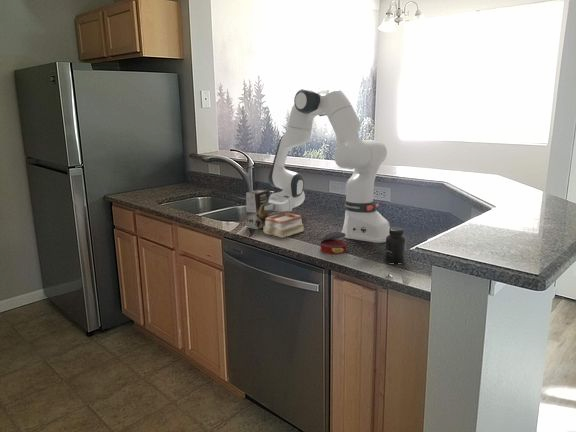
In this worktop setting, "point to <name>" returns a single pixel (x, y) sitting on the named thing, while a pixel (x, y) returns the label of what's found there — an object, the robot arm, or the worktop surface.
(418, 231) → the worktop surface
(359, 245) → the worktop surface
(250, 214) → the coffee box
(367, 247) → the worktop surface
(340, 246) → the canned food
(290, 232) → the tower base
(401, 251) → the supplement bottle
